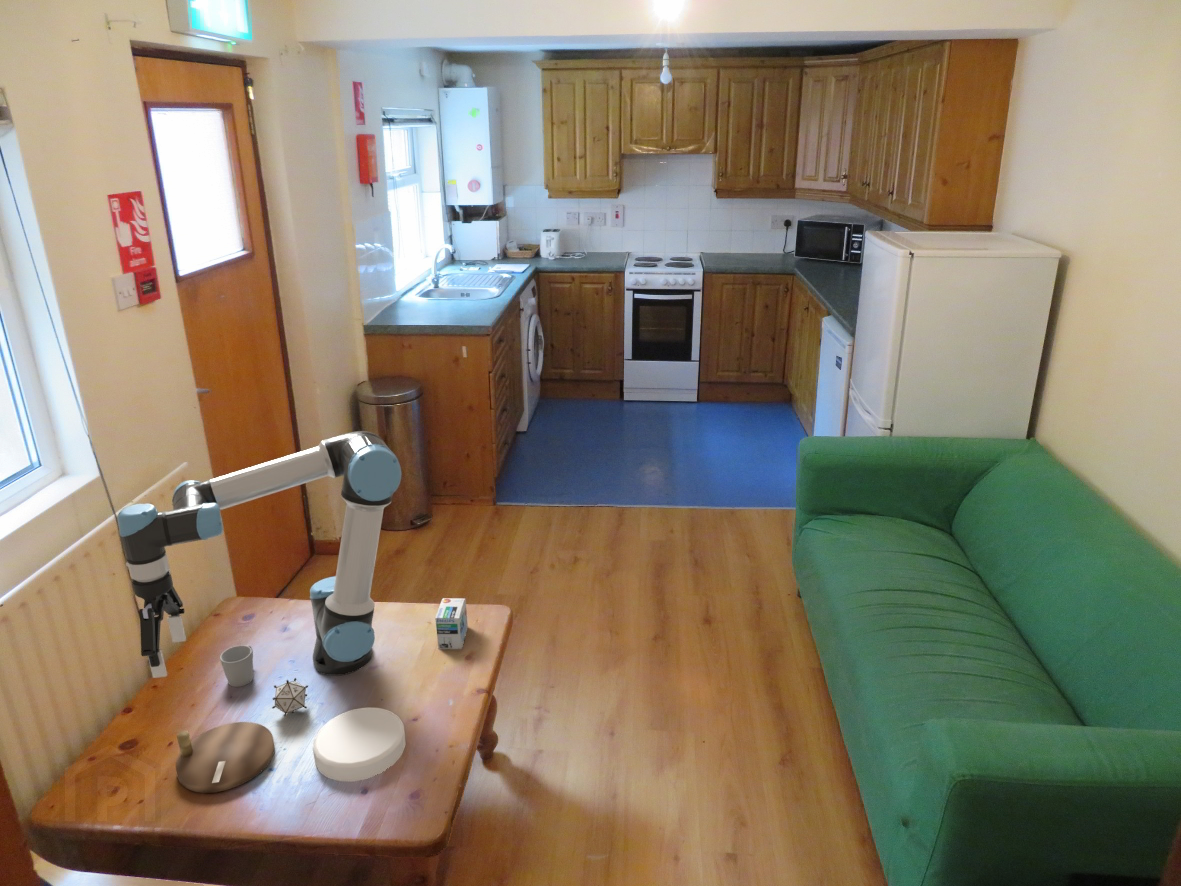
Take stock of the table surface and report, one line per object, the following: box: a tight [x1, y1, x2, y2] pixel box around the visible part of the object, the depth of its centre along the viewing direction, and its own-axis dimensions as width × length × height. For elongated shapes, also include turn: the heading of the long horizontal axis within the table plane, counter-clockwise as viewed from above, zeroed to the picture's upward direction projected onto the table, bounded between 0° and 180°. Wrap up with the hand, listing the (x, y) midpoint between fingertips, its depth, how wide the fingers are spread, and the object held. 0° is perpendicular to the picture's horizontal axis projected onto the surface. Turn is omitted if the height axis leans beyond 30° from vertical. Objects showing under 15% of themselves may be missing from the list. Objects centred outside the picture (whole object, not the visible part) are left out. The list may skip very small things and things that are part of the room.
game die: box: [271, 677, 309, 718], centre depth 195 cm, size 9×8×10 cm
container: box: [312, 707, 406, 783], centre depth 184 cm, size 20×20×5 cm
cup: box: [219, 644, 254, 688], centre depth 209 cm, size 8×10×8 cm
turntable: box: [175, 721, 276, 794], centre depth 181 cm, size 20×20×7 cm
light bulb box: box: [434, 597, 469, 650], centre depth 223 cm, size 11×7×11 cm, turn 179°
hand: (170, 658), depth 183 cm, fingers open, 13 cm apart
